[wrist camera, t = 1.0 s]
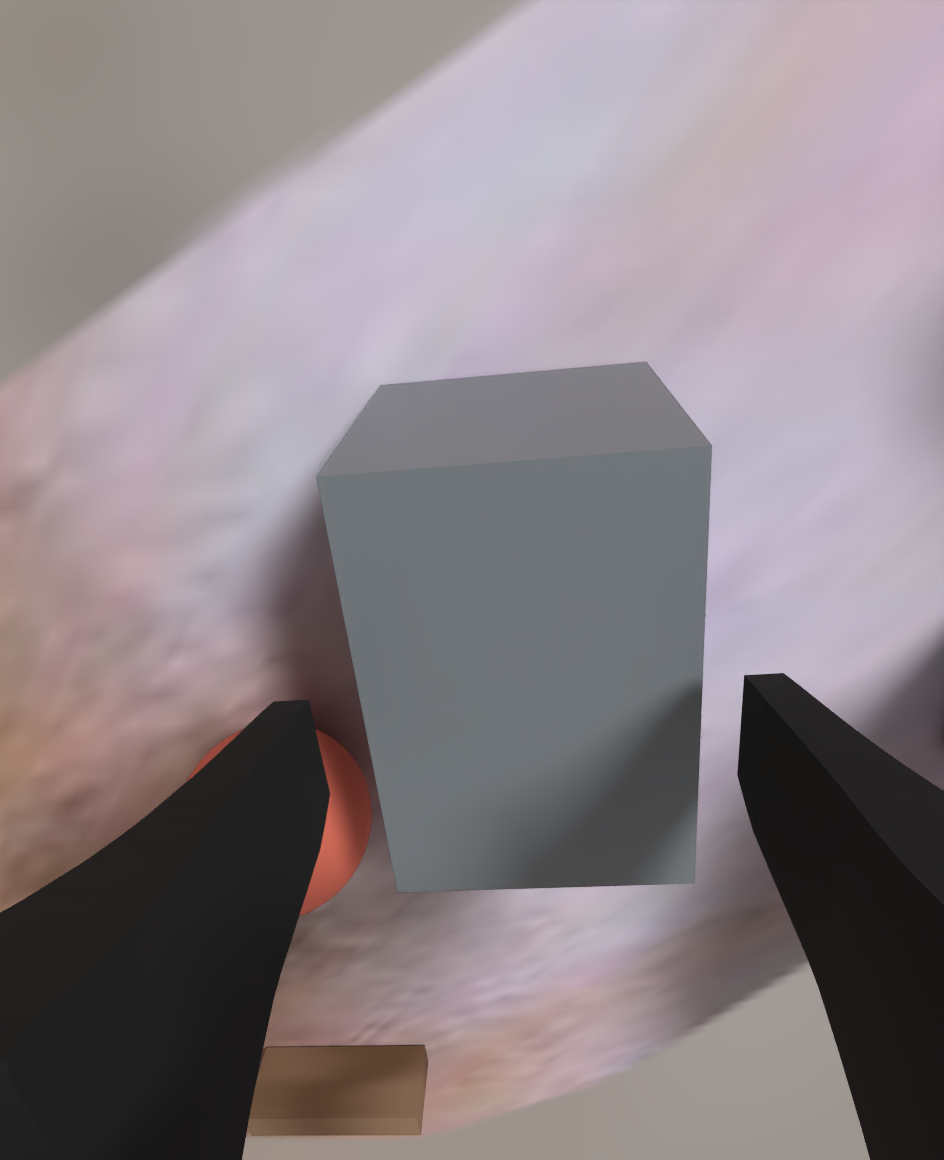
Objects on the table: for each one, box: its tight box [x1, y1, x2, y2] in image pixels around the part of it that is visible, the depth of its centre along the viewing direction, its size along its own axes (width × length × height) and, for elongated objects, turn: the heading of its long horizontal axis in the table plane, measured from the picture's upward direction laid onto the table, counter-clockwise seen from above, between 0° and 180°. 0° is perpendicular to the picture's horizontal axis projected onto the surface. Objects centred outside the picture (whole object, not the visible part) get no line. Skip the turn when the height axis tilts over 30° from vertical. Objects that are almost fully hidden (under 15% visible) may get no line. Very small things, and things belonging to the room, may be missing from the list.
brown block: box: [248, 1046, 428, 1136], centre depth 28 cm, size 6×1×2 cm, turn 96°
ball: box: [187, 729, 372, 916], centre depth 20 cm, size 5×5×5 cm
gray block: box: [316, 362, 712, 892], centre depth 17 cm, size 6×9×6 cm, turn 6°
